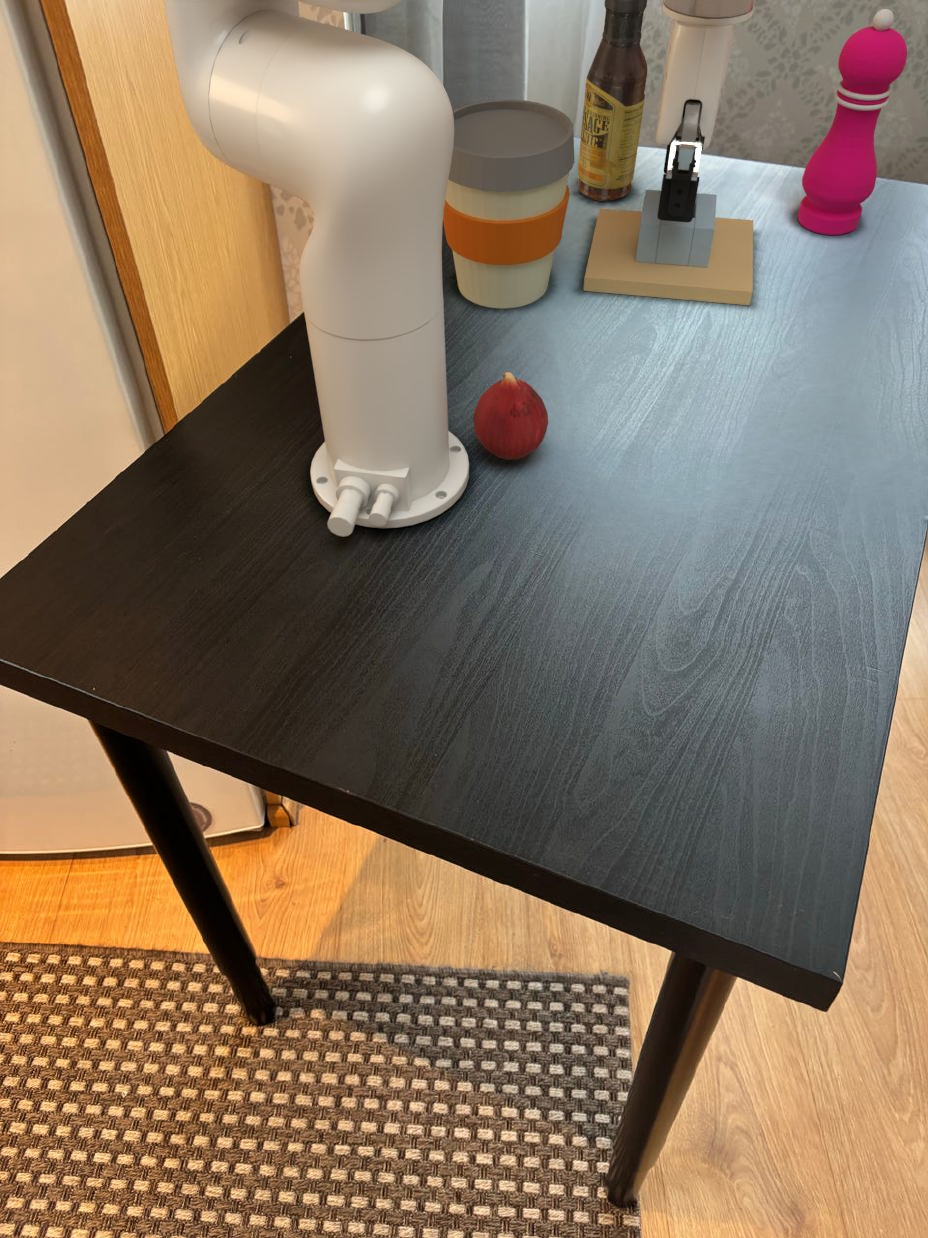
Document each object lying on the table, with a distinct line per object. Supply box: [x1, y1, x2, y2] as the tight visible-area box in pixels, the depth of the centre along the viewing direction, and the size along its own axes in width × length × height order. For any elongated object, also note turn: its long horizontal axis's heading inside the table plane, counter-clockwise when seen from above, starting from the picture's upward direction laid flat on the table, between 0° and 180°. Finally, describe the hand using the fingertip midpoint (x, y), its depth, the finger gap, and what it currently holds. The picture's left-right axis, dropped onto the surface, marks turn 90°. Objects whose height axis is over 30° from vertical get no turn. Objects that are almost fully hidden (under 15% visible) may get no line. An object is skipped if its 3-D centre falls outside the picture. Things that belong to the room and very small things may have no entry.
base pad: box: [582, 208, 754, 306], centre depth 97 cm, size 14×16×4 cm
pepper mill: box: [797, 8, 908, 236], centre depth 95 cm, size 7×7×20 cm
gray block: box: [636, 188, 718, 268], centre depth 96 cm, size 7×7×4 cm
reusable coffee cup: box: [443, 99, 576, 309], centre depth 90 cm, size 13×13×15 cm
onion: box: [472, 371, 549, 461], centre depth 76 cm, size 6×6×8 cm
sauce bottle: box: [577, 0, 648, 202], centre depth 101 cm, size 7×6×20 cm
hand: (676, 196), depth 93 cm, fingers open, 9 cm apart
